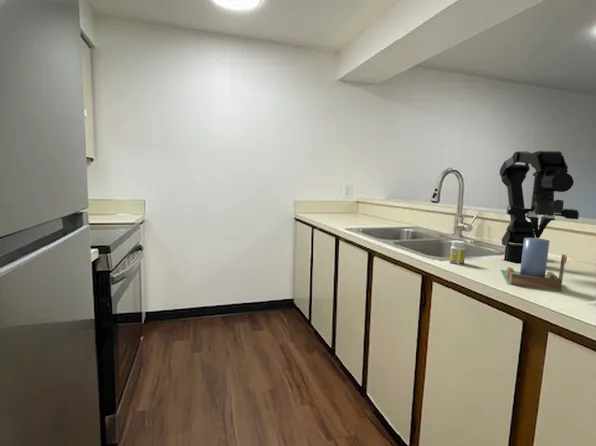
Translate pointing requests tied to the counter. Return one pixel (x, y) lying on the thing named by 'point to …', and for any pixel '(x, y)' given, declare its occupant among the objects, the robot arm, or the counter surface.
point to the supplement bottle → (457, 253)
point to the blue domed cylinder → (534, 257)
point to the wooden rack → (538, 278)
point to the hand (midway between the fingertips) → (537, 238)
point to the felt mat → (518, 273)
